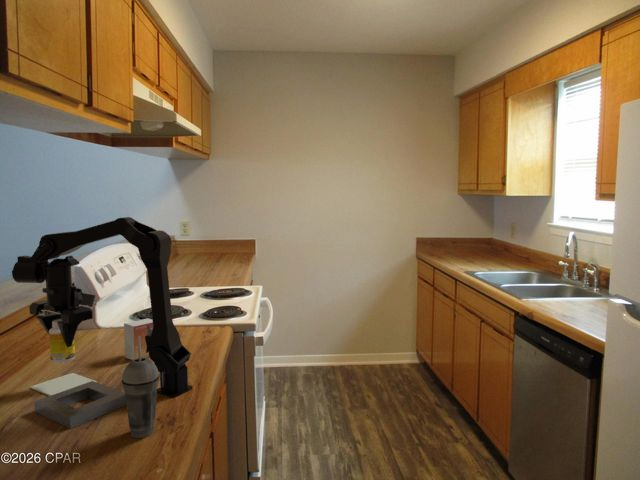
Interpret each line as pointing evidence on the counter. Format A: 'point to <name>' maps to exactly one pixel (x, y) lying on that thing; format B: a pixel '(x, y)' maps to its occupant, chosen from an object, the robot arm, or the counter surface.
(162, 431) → the counter surface
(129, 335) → the small box
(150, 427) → the beverage cup
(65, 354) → the supplement bottle
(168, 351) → the robot arm
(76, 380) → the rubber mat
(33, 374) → the counter surface
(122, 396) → the frame
